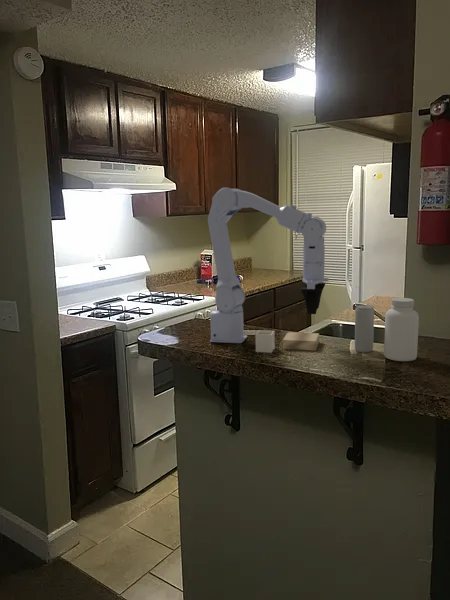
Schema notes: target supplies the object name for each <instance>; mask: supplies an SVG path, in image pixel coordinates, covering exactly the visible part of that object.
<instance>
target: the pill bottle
mask: <svg viewBox="0 0 450 600" xmlns="http://www.w3.org/2000/svg"><path fill="white" fill-rule="evenodd" d="M414 306H415V299H413V298H408V297H394V298H392V299H391V305H390V309H387V311H386V312H385V316H384V317H385V318H384V320H385V321H384V340H383V341H384V345H383V356H384V357H385V358H386V359H389V360H392V361H396V362H411V361H415V360H416V359H417V357H418V346H419V345H418V343H419V342H418V340H419V339H418V338H419V320H420V318H419V317H420V316H419V313H418V312H417V311H416V310H415V309H414Z"/></svg>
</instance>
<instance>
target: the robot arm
mask: <svg viewBox="0 0 450 600" xmlns="http://www.w3.org/2000/svg"><path fill="white" fill-rule="evenodd" d="M248 208H252V209H254V210H257V211H259V212H261V213H264V214H265V215H269V216H271V217H273V218H275V219H276V221H277V223H278V226H279V225H280V226H282V227H284V228H286V229H288V230H291V231H293V232H295V233H296V234H297V233H298V234H301V235H302V237H303V245H302V247H303V248H302V251H303V252H302V253H303V254H302V256H303V257H302V259H303V261H302V262H303V263H302V266H303V267H302V268H303V269H302V278H301V279H302V280H301V281H302V282H303V283H305V284H304V287H301V288H300V292H301V293H302V295H303V299H304V301H305V302H304V303H305V306H306V311H307V315H316V314H317V311H318V309H319V308H320V303H321V297H322V293H323V290H324V288H325V286H326V282H329V278H328V277H325V254H326V253H325V252H326V251H325V249H326V248H325V236H324V235H325V234H326V232H327V225H326V222H325V221H324V220H323V219H321V218H320V217H318V216H315V217H312V216H313V214H312V212H308V213H306V212H305V211H303V210H300V209H297V205H295V204H294V205H293V204H291V205H289V204H285V205H284V206H282V207H281V206H280V205H277V204H275V203H274V202H272V201H269V200H267V199H265V198H263V197H261V196H259V195H257V194H255V193H253V192H249V191H246V190H241V189H240V188H230V187H221V188H220V189H219V190H217V191H216V193H215V194H214V195H213V196H212V197H211V206H210V210H209V213H208V216H207V225H208V229H209V234H210V235H209V236H210V240H211V246H212V252H213V257H214V262H215V263H214V264H215V268H216V275H217V278H218V279H217V283H216V286H215V291H216V295H215V298H214V299H215V300H214V302H215V306H216V308H217V309H218V310H217V309H216V310H212V311H211V314H210V319H209V322H210V323H209V324H210V326H209V327H210V340H209V341H210V343H225V344H227V343H228V344H242V343H243V342H244V341H245V340H246V339H247V338H248V335H246V334H244V307H243V304H244V303H245V300H246V294H245V291H244V289H243V288H242V286H241V282H240V280H239V278H238V277H237V275H236V268H235V263H234V258H233V253H232V252H233V251H232V245H231V241H230V235H229V229H228V228H229V227H228V222H229V221H230V219H231V218H232V217H233V215H235V214H236V213H238V212H239V211H240V210H242V209H248Z"/></svg>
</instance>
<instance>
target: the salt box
mask: <svg viewBox="0 0 450 600" xmlns="http://www.w3.org/2000/svg"><path fill="white" fill-rule="evenodd" d="M275 331H276V330H269V329H268V330H267V329H260V330H257V332H256V333H255V353H270V354H272V353H273V351H274V350H275V349H276V347H275V346H276V344H275V343H276V342H275V341H276V339H275V335H276V334H275Z"/></svg>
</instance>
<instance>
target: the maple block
mask: <svg viewBox="0 0 450 600" xmlns="http://www.w3.org/2000/svg"><path fill="white" fill-rule="evenodd" d="M319 343H320V333H318V332H316V333H315V332H296V331H295V332H294V331H293V332H292V331H288V332H286V334H285V336H284V337H283V338H282V350H297V351H299V350H300V351H317V349H318V346H319Z"/></svg>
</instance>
